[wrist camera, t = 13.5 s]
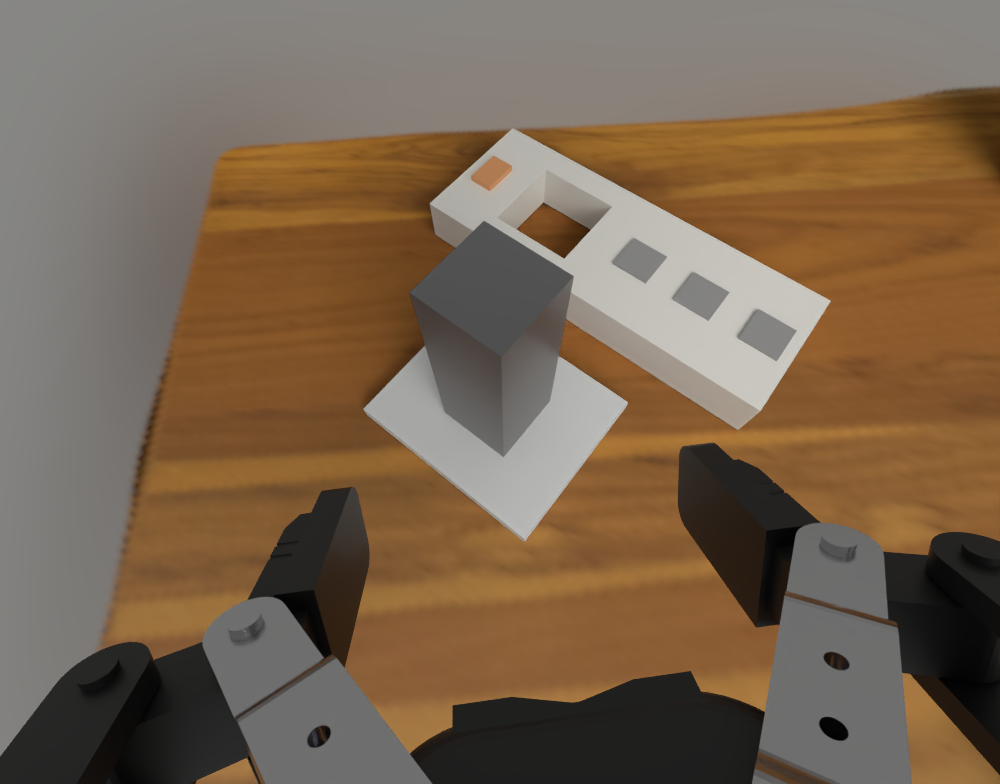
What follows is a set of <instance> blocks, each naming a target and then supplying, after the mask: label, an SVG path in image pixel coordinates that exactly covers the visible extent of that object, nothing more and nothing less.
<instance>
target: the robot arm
mask: <svg viewBox="0 0 1000 784" xmlns="http://www.w3.org/2000/svg"><path fill="white" fill-rule="evenodd" d="M678 508H679V513H680V517H681V520H682V522H683V524H684V526H685V527H686V529H687V530H688V532H689V533H690V535H691V536H692V537H693V539H694V540H695V542H696V543H697V544H698V546H699V547H700V549H701V550H702V552H703V553H704V554H705V556H706V557H707V559H708V560H709V561H710V563H711V564H712V566H713V567H714V569H715V570H716V571H717V573H718V574H719V576H720V577H721V578H722V580H723V581H724V583H725V584H726V585H727V587H728V588H729V590H730V591H731V593H732V594H733V595H734V597H735V598H736V600H737V601H738V602H739V604H740V605H741V607H742V608H743V610H744V611H745V612H746V614H747V615H748V617H749V618H750V619H751V621H752V622H753V624H754V625H755V626H756V627H763V626H770V625H778V624H779V632H778V638H777V644H776V650H775V655H774V661H773V667H772V673H771V679H770V685H769V691H768V697H767V703H766V709H765V712H764V711H762V710H760V709H758V708H756V707H754V706H751V705H749V704H746V703H744V702H742V701H739V700H736V699H733V698H730V697H726V696H723V695H718V694H713V693H708V692H701V691H700V689H699V687H698V685H697V683H696V681H695V679H694V677H693V675H692V673H691V671H688V672H682V673H675V674H668V675H661V676H654V677H647V678H640V679H633V680H631V681H628V682H626V683H624V684H621V685H619V686H616V687H614V688H612V689H609V690H607V691H604V692H602V693H600V694H597V695H595V696H593V697H590V698H588V699H585V700H583V701H580V702H575V703H569V702H559V701H548V700H538V699H527V698H517V697H509V698H502V699H495V700H488V701H481V702H474V703H467V704H460V705H453V727H452V728H449V729H447V730H445V731H442V732H441V733H439V734H437V735H435V736H433V737H432V738H430V739H428V740H427V741H425V742H424V743H423V744H421V745H420V746H418V747H417V748H416V749H415V750H413V751H412V752H411V753H410V754H409V752H408V751H407V750H406V748H405V747H404V746H403V745H402V743H401V742H400V741H399V739H398V738H397V737H396V735H395V734H394V733H393V731H392V730H391V729H390V727H389V726H388V725H387V723H386V722H385V721H384V720H383V718H382V717H381V716H380V714H379V713H378V712H377V710H376V709H375V708H374V706H373V705H372V704H371V702H370V701H369V700H368V698H367V697H366V696H365V694H364V693H363V692H362V691H361V689H360V688H359V687H358V685H357V684H356V683H355V681H354V680H353V679H352V677H351V676H350V675H349V673H348V672H347V671H346V669H345V664H346V660H347V656H348V652H349V647H350V643H351V639H352V635H353V631H354V626H355V622H356V618H357V614H358V609H359V605H360V601H361V597H362V593H363V588H364V584H365V580H366V576H367V572H368V567H369V544H368V538H367V534H366V529H365V525H364V520H363V516H362V511H361V507H360V503H359V498H358V494H357V491H356V489H355V488H354V487H349V488H341V489H333V490H325V491H322V492H321V493H320V495H319V497H318V499H317V501H316V504H315V506H314V508H313V510H312V512H311V513H306V514H300V515H299V516H298V517H297V518H296V519H295V520H294V521H293V522H291V523H290V524H289V525H288V526H287V527H286V528H285V529H284V531H283V533H282V535H281V537H280V539H279V541H278V543H277V547H275V548H274V550H273V552H272V554H271V556H270V557H271V558H270V559H269V560H268V562H267V564H266V566H265V567H264V569H263V571H262V573H261V575H260V577H259V579H258V581H257V583H256V585H255V587H254V589H253V590H252V592H251V594H250V596H249V598H248V600H247V601H244V602H241V603H239V604H237V605H235V606H233V607H232V608H230V609H228V610H227V611H225V612H224V613H222V614H221V615H220V616H219V617H218V618H216V619H215V620H214V621H213V623H212V624H211V625H210V626H209V628H208V629H207V631H206V633H205V634H204V637H203V642H201V643H198V644H196V645H194V646H191V647H188V648H185V649H183V650H180V651H177V652H174V653H172V654H169V655H166V656H163V657H161V658H158V659H155V660H153V657H152V655H151V653H150V651H149V648H148V647H147V646H146V645H144V644H142V643H138V642H127V643H121V644H117V645H113V646H110V647H108V648H105V649H103V650H100V651H98V652H96V653H94V654H93V655H91V656H89V657H87V658H86V659H84V660H82V661H81V662H80V663H78V664H77V665H75V666H74V667H73V668H72V669H70V670H69V671H68V672H67V673H66V674H65V675H64V676H63V677H62V678H61V679H60V680H59V681H58V682H57V683H56V685H55V686H54V687H53V688H52V690H51V691H50V692H49V694H48V695H47V696H46V698H45V699H44V700H43V701H42V703H41V704H40V705H39V707H38V708H37V709H36V711H35V712H34V713H33V715H32V716H31V717H30V718H29V720H28V721H27V722H26V724H25V725H24V726H23V728H22V729H21V730H20V732H19V733H18V734H17V735H16V737H15V738H14V739H13V741H12V742H11V743H10V745H9V746H8V747H7V749H6V750H5V751H4V752H3V754H2V755H1V756H0V784H195V783H196V781H197V780H198V779H200V778H203V777H205V776H207V775H209V774H211V773H214V772H216V771H218V770H220V769H223V768H225V767H227V766H229V765H232V764H234V763H236V762H238V761H240V760H243V759H245V758H247V760H248V762H249V764H250V767H251V769H252V771H253V773H254V776H255V778H256V780H257V783H258V784H912V782H911V771H910V759H909V748H908V736H907V725H906V713H905V702H904V690H903V679H902V673H908V674H911V675H912V677H913V678H914V679H915V680H916V681H917V682H918V683H919V684H920V686H921V687H922V688H923V689H924V690H925V691H926V692H927V694H928V695H929V696H930V697H931V698H932V699H933V700H934V701H935V703H936V704H937V705H938V706H939V707H940V708H941V709H942V710H943V712H944V713H945V714H946V715H947V716H948V717H949V718H950V719H951V721H952V722H953V723H954V724H955V725H956V726H957V727H958V728H959V730H960V731H961V732H962V733H963V734H964V735H965V736H966V737H967V739H968V740H969V741H970V742H971V743H972V744H973V745H974V747H975V748H976V749H977V750H978V751H979V752H980V753H981V754H982V756H983V757H984V758H985V759H986V760H987V761H988V762H989V763H990V765H991V766H992V767H993V768H994V769H995V770H996V771H997V772H998V774H999V775H1000V541H997V540H994V539H991V538H988V537H984V536H981V535H976V534H971V533H963V532H948V533H942V534H939V535H937V536H935V537H934V538H933V539H932V541H931V545H930V549H929V553H928V555H916V554H904V553H892V552H883V551H882V549H881V547H880V546H879V545H878V544H877V543H876V542H875V541H874V540H873V539H871V538H870V537H868V536H867V535H865V534H863V533H861V532H859V531H857V530H855V529H852V528H849V527H846V526H842V525H837V524H831V523H820V522H819V521H818V520H817V519H816V518H815V517H813V516H812V515H811V514H810V513H809V512H808V511H807V510H805V509H804V508H803V507H802V506H801V505H800V504H799V503H797V502H796V501H795V500H794V499H793V498H792V497H791V496H790V495H788V494H787V493H784V490H783V489H782V488H780V487H779V486H778V485H777V484H776V483H773V481H772V480H771V479H770V478H769V477H768V476H767V475H766V474H764V473H763V472H762V471H761V470H760V469H759V468H757V467H754V466H752V465H750V464H748V463H746V462H744V461H741V460H739V459H738V460H733V459H732V458H731V457H730V456H729V455H727V454H726V453H725V452H724V451H723V450H722V449H721V448H720V447H719V446H718V445H717V444H715V443H705V444H697V445H690V446H683V447H682V448H681V450H680V454H679V480H678Z"/></svg>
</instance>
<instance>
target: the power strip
mask: <svg viewBox="0 0 1000 784" xmlns="http://www.w3.org/2000/svg"><path fill="white" fill-rule="evenodd" d="M543 202H544V203H545V204H547V205H549V206H550V207H552V208H554V209H556V210H557V211H559V212H561V213H563V214H564V215H566V216H568V217H569V218H571V219H573V220H575V221H576V222H578V223H580V224H582V225H583V226H585V227H587V228H588V229H590V231H589V233H588V234H587V235H586V236H585V237H584V238H583V239H582V240H581V241H580V242H579V243H578V244H577V246H576V247H575V248H574V249H573V250H572V251H571V252H570V253H569V254H568V255H567V256H566V258H565V259H564V258H562V257H561V256H559V255H557V254H556V253H554V252H552V251H551V250H549V249H547V248H546V247H544V246H542V245H541V244H539V243H538V242H536V241H534V240H533V239H531V238H529V237H528V236H526V235H524V234H523V233H521V232H519V231H518V230H516V229H517V228H518V227H519V226H520V225H521V224H522V223H523V222H524V221H525V220H526V219H527V218H528V217H529V216H530V215H531V214H532V213H533V212H534V211H535V210H536V209H537V208H538V207H539V206H540V205H541V204H542V203H543ZM430 209H431V214H432V220H433V225H434V230H435V235H436V236H438V237H440V238H441V239H443V240H444V241H446V242H447V243H449V244H450V245H452V246H454V247H455V248H456V247H457V246H458V245H459V244H460V243H461V242H462V241H463V240H464V239H465V238H467V237H468V236H469V235H470V234H471V233H472V232H473V231H474V230H475V229H476V228H477V227H478V226H479V225H480V224H481V223H482V222H483V221H485V222H487V223H489V224H490V225H492V226H494V227H495V228H497V229H498V230H500V231H502V232H503V233H505V234H507V235H508V236H510V237H511V238H513V239H515V240H516V241H518V242H519V243H521V244H523V245H524V246H526V247H528V248H529V249H531V250H532V251H534V252H536V253H537V254H539V255H540V256H542V257H544V258H545V259H547V260H549V261H550V262H552V263H553V264H555V265H557V266H558V267H560V268H562V269H563V270H565V271H566V272H568V273H570V274H571V275H573V276H574V279H573V284H572V289H571V294H570V300H569V305H568V310H567V315H566V319H567V320H568V321H570V322H571V323H573V324H574V325H576V326H577V327H579V328H581V329H582V330H584V331H585V332H587V333H588V334H590V335H591V336H593V337H594V338H596V339H598V340H599V341H601V342H602V343H604V344H605V345H607V346H608V347H610V348H611V349H613V350H615V351H616V352H618V353H619V354H621V355H622V356H624V357H625V358H627V359H629V360H630V361H632V362H633V363H635V364H636V365H638V366H639V367H641V368H642V369H644V370H646V371H647V372H649V373H650V374H652V375H653V376H655V377H656V378H658V379H659V380H661V381H663V382H664V383H666V384H667V385H669V386H670V387H672V388H673V389H675V390H677V391H678V392H680V393H681V394H683V395H684V396H686V397H687V398H689V399H690V400H692V401H694V402H695V403H697V404H698V405H700V406H701V407H703V408H704V409H706V410H707V411H709V412H711V413H712V414H714V415H715V416H717V417H718V418H720V419H721V420H723V421H725V422H726V423H728V424H729V425H731V426H732V427H734V428H735V429H737V430H738V429H740V428H741V427H742V426H743V425H744V424H746V423H747V422H748V421H749V420H750V419H752V418H753V417H754V416H755V415H756V414H758V413H759V412H760V411H761V409H762V408H763V406H764V405H765V403H766V402H767V400H768V399H769V397H770V395H771V394H772V392H773V391H774V389H775V388H776V386H777V384H778V383H779V381H780V380H781V378H782V377H783V375H784V373H785V372H786V370H787V369H788V367H789V366H790V364H791V362H792V361H793V359H794V358H795V356H796V355H797V353H798V351H799V350H800V348H801V347H802V345H803V344H804V342H805V341H806V339H807V337H808V336H809V334H810V333H811V331H812V330H813V328H814V326H815V325H816V323H817V322H818V320H819V319H820V317H821V315H822V314H823V312H824V311H825V309H826V308H827V306H828V304H829V303H830V300H828V299H826V298H824V297H822V296H821V295H819V294H817V293H815V292H813V291H811V290H810V289H808V288H806V287H804V286H802V285H800V284H799V283H797V282H795V281H793V280H791V279H789V278H788V277H786V276H784V275H782V274H780V273H778V272H776V271H775V270H773V269H771V268H769V267H767V266H765V265H764V264H762V263H760V262H758V261H756V260H754V259H753V258H751V257H749V256H747V255H745V254H743V253H741V252H740V251H738V250H736V249H734V248H732V247H730V246H729V245H727V244H725V243H723V242H721V241H719V240H718V239H716V238H714V237H712V236H710V235H708V234H707V233H705V232H703V231H701V230H699V229H697V228H695V227H694V226H692V225H690V224H688V223H686V222H684V221H683V220H681V219H679V218H677V217H675V216H673V215H672V214H670V213H668V212H666V211H664V210H662V209H661V208H659V207H657V206H655V205H653V204H651V203H649V202H648V201H646V200H644V199H642V198H640V197H638V196H637V195H635V194H633V193H631V192H629V191H627V190H626V189H624V188H622V187H620V186H618V185H616V184H615V183H613V182H611V181H609V180H607V179H605V178H603V177H602V176H600V175H598V174H596V173H594V172H592V171H591V170H589V169H587V168H585V167H583V166H581V165H580V164H578V163H576V162H574V161H572V160H570V159H568V158H567V157H565V156H563V155H561V154H559V153H557V152H556V151H554V150H552V149H550V148H548V147H546V146H545V145H543V144H541V143H539V142H537V141H535V140H534V139H532V138H530V137H528V136H526V135H524V134H522V133H521V132H519V131H517V130H515V129H512V130H510V131H509V132H508V133H507V134H506V135H505V136H504V137H503V138H502V139H500V140H499V141H498V142H497V143H496V144H495V145H494V146H493V147H492V148H491V149H489V150H488V151H487V152H486V153H485V154H484V155H483V156H482V157H481V158H479V159H478V160H477V161H476V162H475V163H474V164H473V165H472V166H471V167H470V168H468V169H467V170H466V171H465V172H464V173H463V174H462V175H461V176H460V177H458V178H457V179H456V180H455V181H454V182H453V183H452V184H451V185H450V186H448V187H447V188H446V189H445V190H444V191H443V192H442V193H441V194H440V195H439V196H437V197H436V198H435V199H434V200H433V201H432V202H431V203H430Z"/></svg>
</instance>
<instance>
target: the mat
mask: <svg viewBox="0 0 1000 784" xmlns="http://www.w3.org/2000/svg"><path fill="white" fill-rule="evenodd" d="M627 404H628V402H627V401H625V400H624V399H622V398H621V397H619V396H618V395H616V394H615V393H613V392H612V391H610V390H609V389H607V388H606V387H604V386H603V385H601V384H600V383H599V382H597V381H596V380H594V379H593V378H591V377H590V376H588V375H587V374H585V373H584V372H582V371H581V370H579V369H578V368H576V367H575V366H573V365H572V364H570V363H569V362H567V361H566V360H564V359H563V358H561V357H560V356H559V357H558V362H557V367H556V373H555V378H554V383H553V388H552V393H551V399H550V402H549V403H548V404H547V405H546V407H545V408H544V409H543V410H542V411H541V413H540V414H539V415H538V416H537V418H536V419H535V420H534V421H533V422H532V424H531V425H530V426H529V427H528V428H527V430H526V431H525V432H524V433H523V435H522V436H521V437H520V438H519V439H518V441H517V442H516V443H515V444H514V445H513V447H512V448H511V449H510V450H509V452H508V453H507V454H506V455H505V456H504V457H502V456H501V455H500V454H499V453H497V452H496V451H495V450H493V449H492V448H491V447H489V446H488V445H487V444H486V443H484V442H483V441H482V440H480V439H479V438H478V437H476V436H475V435H474V434H472V433H471V432H470V431H469V430H467V429H466V428H465V427H463V426H462V425H461V424H459V423H458V422H457V421H456V420H454V419H453V418H452V417H450V416H449V415H448V414H446V413H445V411H444V407H443V404H442V401H441V397H440V394H439V391H438V387H437V384H436V381H435V377H434V374H433V370H432V367H431V364H430V360H429V357H428V354H427V350H426V347H425V346H424V347H423V348H422V349H421V350H420V351H419V352H418V353H417V354H416V355H415V356H414V357H413V358H412V359H411V360H410V361H409V363H408V364H407V365H406V366H405V367H404V368H403V369H402V370H401V371H400V372H399V373H398V374H397V375H396V376H395V377H394V378H393V379H392V380H391V381H390V382H389V383H388V384H387V385H386V386H385V387H384V388H383V389H382V390H381V391H380V392H379V393H378V394H377V395H376V396H375V398H374V399H373V400H372V401H371V402H370V403H369V404H368V405H367V406H366V407H365V408H364V409H363V410H364V411H365V412H366V414H367V415H368V416H369V417H370V418H371V419H373V420H374V421H375V422H376V423H378V424H379V425H380V426H381V427H382V428H384V429H385V430H386V431H387V432H389V433H390V434H391V435H392V436H394V437H395V438H396V439H397V440H399V441H400V442H401V443H402V444H404V445H405V446H406V447H407V448H408V449H410V450H411V451H412V452H413V453H415V454H416V455H417V456H418V457H420V458H421V459H422V460H423V461H425V462H426V463H427V464H428V465H430V466H431V467H432V468H433V469H434V470H436V471H437V472H438V473H439V474H441V475H442V476H443V477H444V478H446V479H447V480H448V481H449V482H451V483H452V484H453V485H454V486H456V487H457V488H458V489H459V490H460V491H462V492H463V493H464V494H465V495H467V496H468V497H469V498H470V499H472V500H473V501H474V502H475V503H477V504H478V505H479V506H480V507H481V508H483V509H484V510H485V511H486V512H488V513H489V514H490V515H491V516H493V517H494V518H495V519H496V520H498V521H499V522H500V523H501V524H503V525H504V526H505V527H506V528H507V529H509V530H510V531H511V532H512V533H514V534H515V535H516V536H517V537H519V538H520V539H521V540H522V541H524V542H525V541H526V539H527V538H528V537H529V535H530V534H531V533H532V531H533V530H534V529H535V527H536V526H537V525H538V523H539V522H540V521H541V519H542V518H543V517H544V515H545V514H546V513H547V511H548V510H549V509H550V507H551V506H552V505H553V503H554V502H555V501H556V499H557V498H558V497H559V495H560V494H561V493H562V491H563V490H564V489H565V487H566V486H567V485H568V483H569V482H570V481H571V479H572V478H573V477H574V476H575V474H576V473H577V472H578V470H579V469H580V468H581V466H582V465H583V464H584V462H585V461H586V460H587V458H588V457H589V456H590V454H591V453H592V452H593V450H594V449H595V448H596V446H597V445H598V444H599V442H600V441H601V440H602V438H603V437H604V436H605V434H606V433H607V432H608V430H609V429H610V428H611V426H612V425H613V424H614V422H615V421H616V420H617V418H618V417H619V416H620V414H621V413H622V412H623V410H624V409H625V407H626V406H627Z"/></svg>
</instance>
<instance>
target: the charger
mask: <svg viewBox="0 0 1000 784" xmlns="http://www.w3.org/2000/svg"><path fill="white" fill-rule="evenodd" d="M573 279H574V276H573V275H571V274H570V273H568V272H566V271H565V270H563V269H562V268H560V267H558V266H557V265H555V264H553V263H552V262H550V261H549V260H547V259H545V258H544V257H542V256H540V255H539V254H537V253H536V252H534V251H532V250H531V249H529V248H528V247H526V246H524V245H523V244H521V243H519V242H518V241H516V240H515V239H513V238H511V237H510V236H508V235H507V234H505V233H503V232H502V231H500V230H498V229H497V228H495V227H494V226H492V225H490V224H489V223H487V222H485V221H483V222H482V223H481V224H480V225H479V226H478V227H477V228H476V229H475V230H474V231H473V232H472V233H471V234H470V235H469V236H468V237H467V238H465V239H464V240H463V241H462V242H461V243H460V244H459V245H458V246H457V247H456V248H455V249H454V250H453V251H452V252H451V253H450V254H449V255H448V256H447V257H446V258H445V259H444V260H443V261H442V262H441V263H440V264H438V265H437V266H436V267H435V268H434V269H433V270H432V271H431V272H430V273H429V274H428V275H427V276H426V277H425V278H424V279H423V280H422V281H421V282H420V283H419V284H418V285H417V286H416V287H415V288H414V289H413V290H411V291H410V292H409V293H410V297H411V300H412V303H413V307H414V310H415V313H416V317H417V320H418V323H419V327H420V330H421V334H422V337H423V340H424V344H425V347H426V350H427V354H428V357H429V360H430V364H431V367H432V370H433V374H434V377H435V381H436V384H437V387H438V391H439V394H440V397H441V401H442V404H443V407H444V411H445V413H446V414H448V415H449V416H450V417H452V418H453V419H454V420H456V421H457V422H458V423H459V424H461V425H462V426H463V427H465V428H466V429H467V430H469V431H470V432H471V433H472V434H474V435H475V436H476V437H478V438H479V439H480V440H482V441H483V442H484V443H486V444H487V445H488V446H489V447H491V448H492V449H493V450H495V451H496V452H497V453H499V454H500V455H501V456H502V457H504V456H505V455H506V454H507V453H508V452H509V450H510V449H511V448H512V447H513V445H514V444H515V443H516V442H517V441H518V439H519V438H520V437H521V436H522V435H523V433H524V432H525V431H526V430H527V428H528V427H529V426H530V425H531V424H532V422H533V421H534V420H535V419H536V418H537V416H538V415H539V414H540V413H541V411H542V410H543V409H544V408H545V407H546V405H547V404H548V403H549V402H550V399H551V393H552V388H553V383H554V378H555V373H556V367H557V362H558V357H559V352H560V347H561V341H562V336H563V331H564V326H565V321H566V315H567V310H568V305H569V300H570V294H571V289H572V284H573Z"/></svg>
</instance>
